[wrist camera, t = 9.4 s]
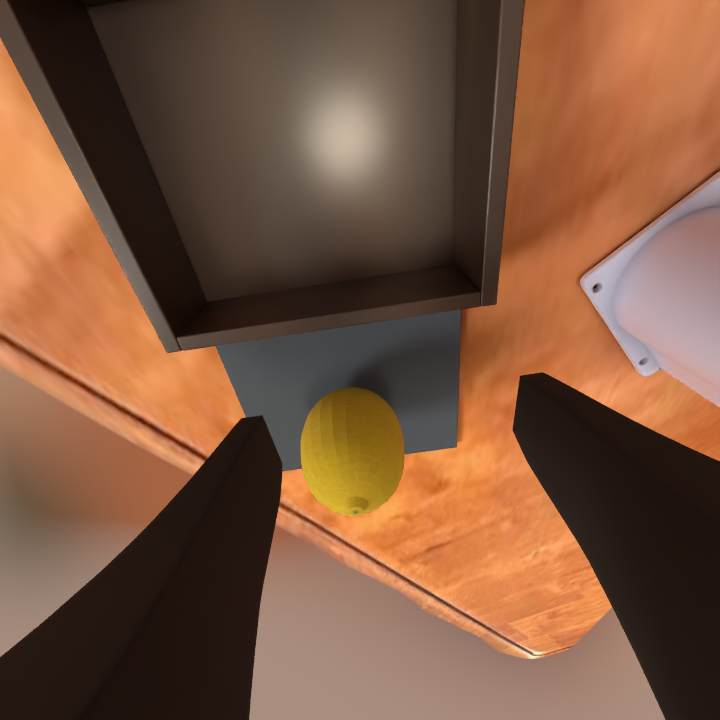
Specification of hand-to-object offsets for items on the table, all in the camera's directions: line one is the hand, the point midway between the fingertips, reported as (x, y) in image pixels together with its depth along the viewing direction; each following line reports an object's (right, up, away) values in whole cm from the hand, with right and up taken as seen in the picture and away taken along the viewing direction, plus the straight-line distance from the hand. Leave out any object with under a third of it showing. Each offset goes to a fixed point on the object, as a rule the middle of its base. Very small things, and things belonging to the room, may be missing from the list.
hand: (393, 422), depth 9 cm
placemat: (-2, 0, +12) cm, 12 cm away
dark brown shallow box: (-3, +11, +5) cm, 12 cm away
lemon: (-2, -1, +12) cm, 12 cm away
